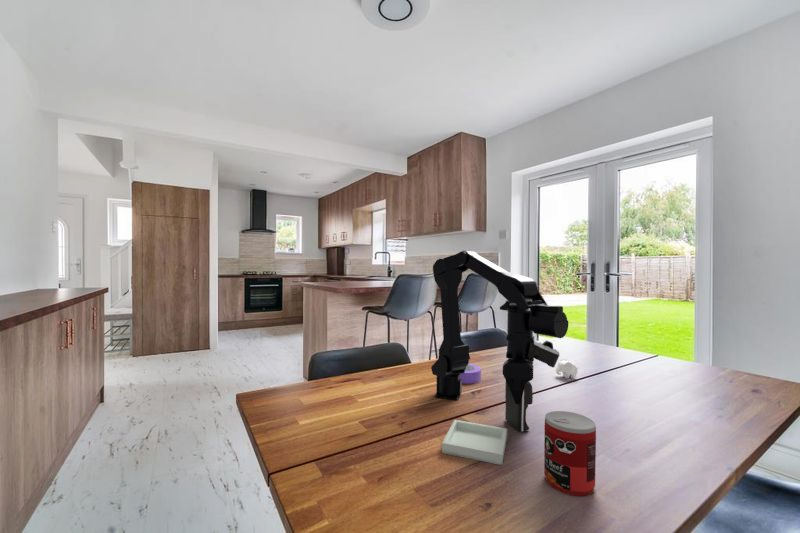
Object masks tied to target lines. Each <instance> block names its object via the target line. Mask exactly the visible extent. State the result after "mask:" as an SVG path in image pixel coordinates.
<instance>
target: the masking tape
mask: <svg viewBox="0 0 800 533" xmlns="http://www.w3.org/2000/svg"><path fill="white" fill-rule="evenodd" d="M460 379H462V384H464V385H465V384H469V385H470V384H477V383H480V382H481V381H482V368H481V366H479V365H476V364H474V363H470V362H469V363H468V365H467V367H466V369H465V372H464V373H463V374H460Z"/></svg>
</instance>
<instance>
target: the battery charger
mask: <svg viewBox="0 0 800 533" xmlns="http://www.w3.org/2000/svg"><path fill="white" fill-rule="evenodd" d="M533 392H534V391H533V385H532V384H531V382H530V381H529V382H527V383H526V384H525V387H524V392H523V396H522V400H521V404H520V405H519V404H515V401H514V399H513V396H512V394H511V391H510V389H509V387H508V384H507V382H506V381H505V392H504V394H505V417H504V418H505V421H507V423H509V425H511V427H513V428H514V429H515V430H516V431H517V432H522V433H523V432H527V431H529V430H530V426H529V425H528V423H527V417H526V416H527V409H528V408H529V405H532V404H533V402H534V400H533V398H534V397H533V394H534V393H533Z"/></svg>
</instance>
